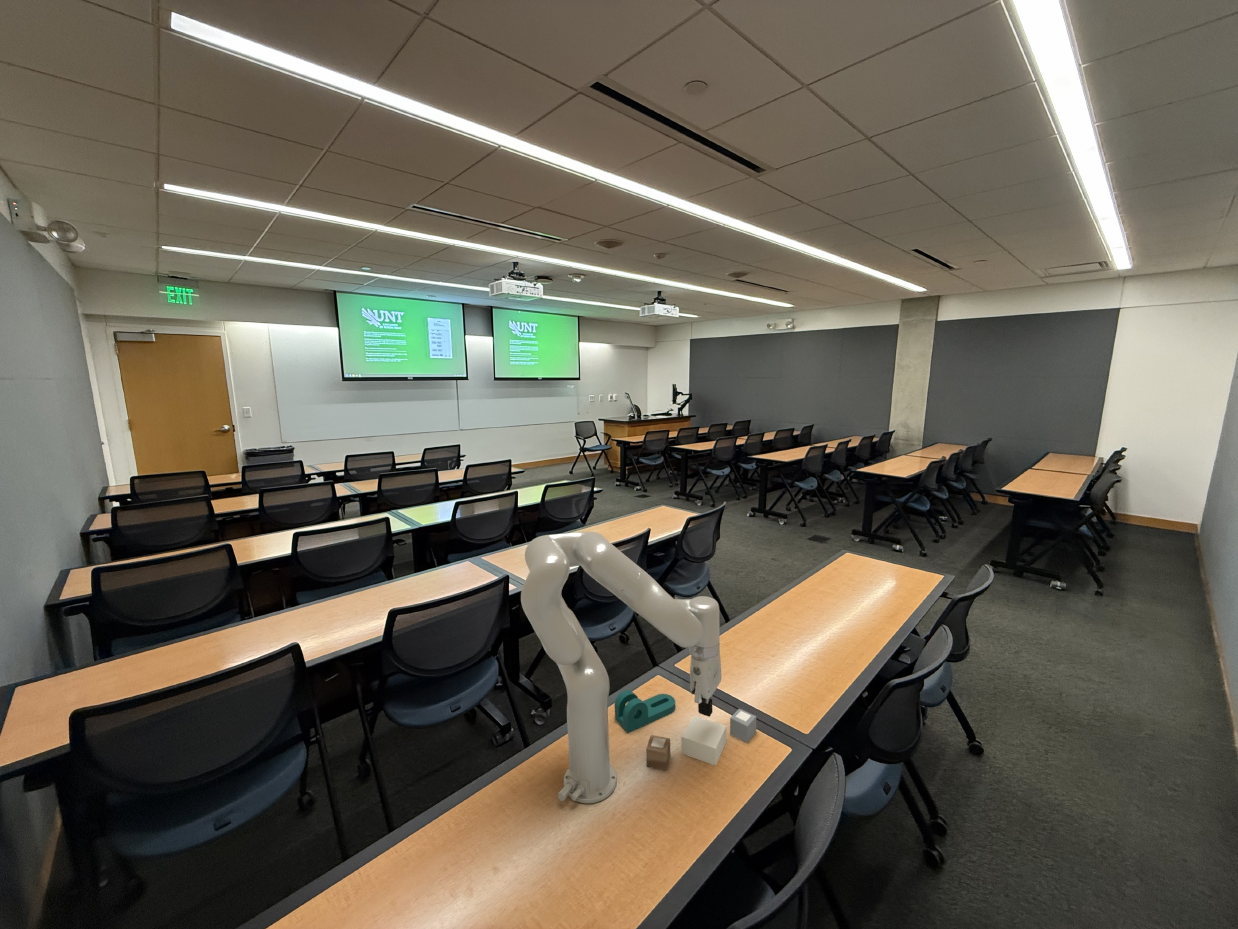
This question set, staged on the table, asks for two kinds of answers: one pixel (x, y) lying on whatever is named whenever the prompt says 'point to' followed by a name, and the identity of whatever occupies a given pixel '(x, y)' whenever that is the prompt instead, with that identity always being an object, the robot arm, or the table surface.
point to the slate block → (743, 725)
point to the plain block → (703, 740)
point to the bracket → (641, 709)
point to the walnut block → (658, 752)
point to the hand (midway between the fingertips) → (705, 713)
